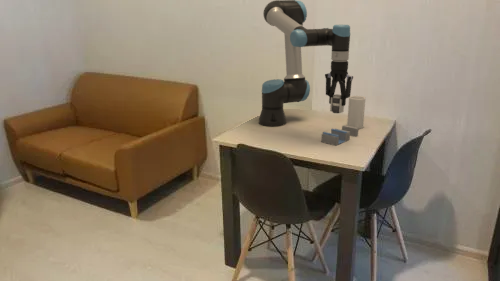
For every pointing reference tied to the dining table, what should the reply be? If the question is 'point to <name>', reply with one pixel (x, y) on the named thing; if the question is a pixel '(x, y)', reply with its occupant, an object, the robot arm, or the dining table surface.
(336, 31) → the robot arm
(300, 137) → the dining table surface
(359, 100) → the cup
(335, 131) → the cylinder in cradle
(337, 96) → the plug
